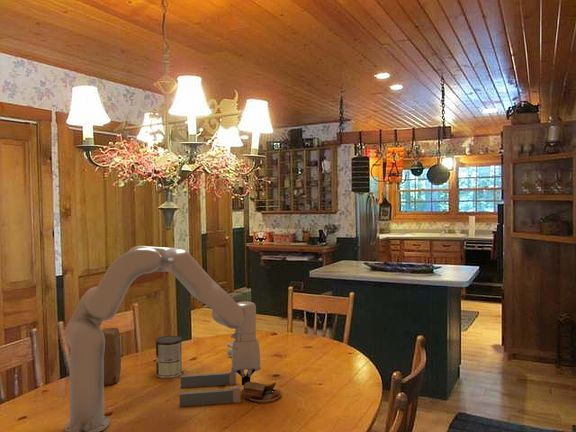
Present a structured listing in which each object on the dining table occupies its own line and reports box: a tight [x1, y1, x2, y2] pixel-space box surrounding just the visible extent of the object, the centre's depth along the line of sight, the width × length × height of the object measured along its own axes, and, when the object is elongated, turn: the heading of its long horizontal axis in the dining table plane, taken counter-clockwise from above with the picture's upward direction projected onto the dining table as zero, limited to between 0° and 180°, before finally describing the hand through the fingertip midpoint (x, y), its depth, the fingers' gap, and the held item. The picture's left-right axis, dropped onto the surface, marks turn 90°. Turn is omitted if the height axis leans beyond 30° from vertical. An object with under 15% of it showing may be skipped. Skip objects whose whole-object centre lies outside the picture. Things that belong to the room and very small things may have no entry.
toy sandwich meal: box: [241, 380, 282, 403], centre depth 174 cm, size 12×14×5 cm
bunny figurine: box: [226, 342, 233, 357], centre depth 225 cm, size 10×5×15 cm
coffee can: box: [154, 335, 183, 379], centre depth 199 cm, size 10×10×14 cm
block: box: [102, 327, 122, 386], centre depth 191 cm, size 11×8×20 cm
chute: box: [179, 369, 241, 407], centre depth 177 cm, size 19×20×5 cm
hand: (245, 386), depth 180 cm, fingers closed
